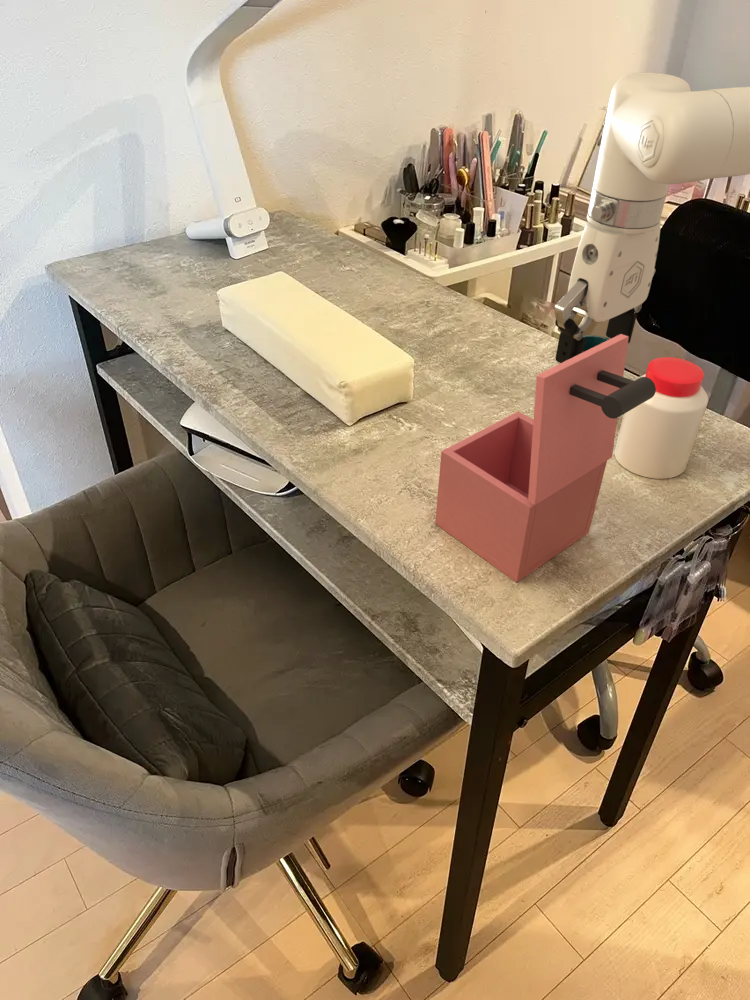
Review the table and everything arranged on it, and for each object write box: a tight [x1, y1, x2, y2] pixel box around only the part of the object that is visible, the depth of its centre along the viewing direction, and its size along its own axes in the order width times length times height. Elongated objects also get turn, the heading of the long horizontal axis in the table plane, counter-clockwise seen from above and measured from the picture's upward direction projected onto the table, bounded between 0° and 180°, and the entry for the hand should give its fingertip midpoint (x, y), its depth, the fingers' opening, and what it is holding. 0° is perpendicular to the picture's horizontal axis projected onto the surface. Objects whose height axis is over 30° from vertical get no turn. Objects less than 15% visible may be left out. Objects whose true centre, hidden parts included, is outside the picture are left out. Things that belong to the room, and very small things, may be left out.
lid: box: [528, 334, 656, 505], centre depth 61 cm, size 12×11×6 cm
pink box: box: [434, 410, 608, 583], centre depth 72 cm, size 11×11×9 cm
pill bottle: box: [613, 356, 709, 480], centre depth 81 cm, size 8×8×11 cm
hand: (592, 352), depth 92 cm, fingers open, 9 cm apart
